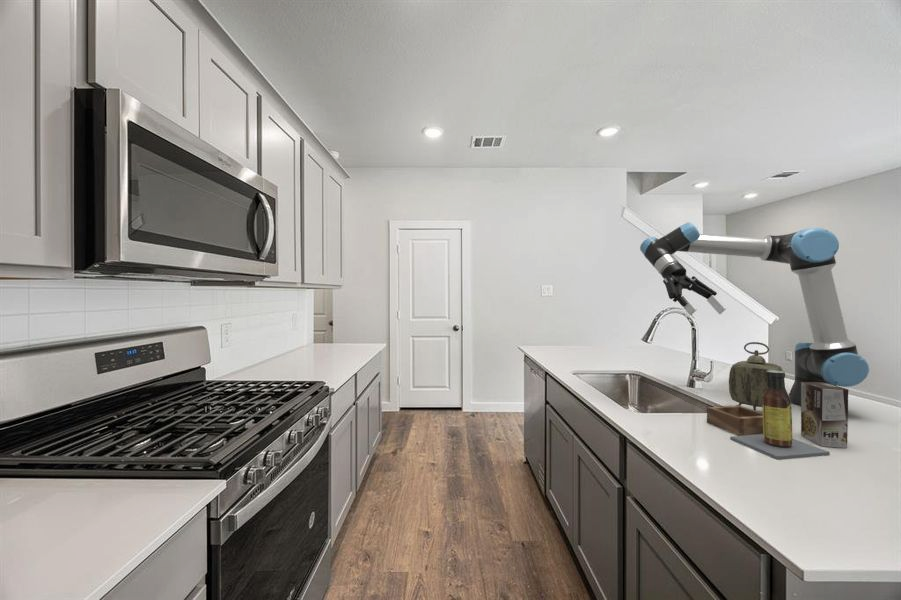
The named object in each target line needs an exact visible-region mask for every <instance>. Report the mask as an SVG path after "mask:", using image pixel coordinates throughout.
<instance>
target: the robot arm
mask: <svg viewBox="0 0 901 600" xmlns="http://www.w3.org/2000/svg"><path fill="white" fill-rule="evenodd" d="M839 246H840V241H839V239H838V237H837V236H836V235H835V234H834V233H833V232H832V231H830V230H827V229H825V228H820V227H812V228H811V227H810V228H805V229H804V228H803V229H802V230H799V231H796V232H791V233H787V234H779V235H771V234H770V235H765V236H764V237H754V236H741V235H725V234H724V235H722V234H709V233H705V234H704V233H700V231H699V230H698V229H697V227H696V226H695V225H694V224H693V223H692V222H688V221H687V222H686V223H684V224H681V225H680V226H678V227H677V228H675V229H674V230H671V231H669V233H668V234H666V235H664V236H662V237H660V238H657V237H656V236H651V237H646V239H644V240H643V241H642V243H640V246H639V249H640V252H641V254H643V257H645V259H646V260H648V261H649V263H650V264H651V265H652V267H654V269H655V270H656V271H657V272H658V273H659V275H660V276H661V277H662V278H663V280H662V283H663V284H664V286H665V289H666V292H667V295H668V298H669V299H670V300H672V301H673V302H674V303H677V302H678V303H679V305H681V307H682V308H683V309H684V310H685V311H686V313H687V314H688V315H689V316H692V315H693V314H694V313H695V312H696V311H697V308H696V307H695V305H693V303H692V302H691V301H690V300H689V299H688V297H686V296H685V295H683V290H688V291H692V292H693V293H696V294H698V295H700V296H701V297H703V298H705V299H706V301H707V303H708V304H709V305H710V306H711V307H712V308H713V310H715V311H716V313H717V314H719V315H721V314H722V313H724V312H725V310H727V308H726V307H725V306H724V304H722V302H720V300H719V299H718V298H717V297H716V296H717V295H718V293H717V291H715V290H714V289H712V288H711V287H709V286H708V285H707V284H704V282H703V281H700V280H699V279H698V278H697V277H696V276H694V275H692V276H691V277H689V276H688V275H687V269H686V268H685V267H684V266H683V265H682V264H681V263H680V261H679V260H678V259H677V258H676V257H675V256H674V255H673V254H675V253H676V252H682V253H683V252H684V253H685V252H686V253H697V254H698V253H700V254H710V255H711V254H712V255H725V256H735V257H737V256H738V257H752V258H759V259H760V260H761V261H766V262H774V263H781V264H789V265H790V270H791V272H792V273H794V274H795V275H797V276H798V280H799V283H800V288H801V293H802V296H803V301H804V304H805V309H806V310H805V311H806V313H807V317H808V323H809V327H810V330H811V334H812V339H813V342H798V343H796V345H795V348H794V382H793V384H792V386H791V389H790V392H789V393H788V396H789V398H790V400H791V404H795V405H798V406H801V382H825V383H829V384H832V385H835V386H839V387H842V388H845V387H846V388H847V387H854V386H857V385H859V384H861V383H862V382H863V381H864V380H866V378H867V377H868V375H869V372H870V366H869V363H868V361H866V359H865V358H864V357H862V355H859V352H858V350H857V349H858V348H857V345H856V343H855V342H853V341H851V340H850V339H848V335H847V331H846V326H845V321H844V318H843V313H842V310H841V305H840V301H839V296H838V292H837V289H836V285H835V279H834V276H833V271H832V269H833V268H834V267H835V266H836V265H837V262H836V256H835V255H836V254H837V253H838V251H839Z"/></svg>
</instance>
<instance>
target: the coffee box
mask: <svg viewBox="0 0 901 600" xmlns="http://www.w3.org/2000/svg"><path fill="white" fill-rule="evenodd" d="M848 421H849V389H848V388H845V387H842V386H835V385H832V384H829V383H825V382H801V405H800V424H801V425H800V436H802V437H804V438H805V439H808V440H809V441H811V442H813V443H815V444H816V445H819V446H821V447H828V448H829V447H830V448H841V449H842V448H844V449H847V448H848V435H849V434H848V431H849V430H848V429H849V427H848V426H849V425H848V423H849V422H848Z"/></svg>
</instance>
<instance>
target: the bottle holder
mask: <svg viewBox="0 0 901 600" xmlns="http://www.w3.org/2000/svg"><path fill="white" fill-rule="evenodd" d="M706 423H707V424H709V425H712V426H713V427H714V426H715V427H717V428H720V429H721V428H722V430H723V431H724V430H725V431H726V430H727V432H729V433H731V432H732V434H734V435H735V436H740V435H743V436H745V435H758V434H763V412H761V411H758V410H756V411H755V410H753V409H752V408H749V407H745V406H743V405H741V406H740V405H739V404H736V405H726V406H725V405H724V406H723V405H722V406H720V405H719V406H708V407H706Z"/></svg>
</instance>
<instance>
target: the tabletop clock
mask: <svg viewBox="0 0 901 600" xmlns="http://www.w3.org/2000/svg"><path fill="white" fill-rule="evenodd" d="M749 345H761V346H764V347H765V348H766V349H767V350H766V351H764V352H759V350H758V349H757V350H754V352H753V351H749V350H748V349H747V347H748V346H749ZM743 349H744V351H745V352H747V353H748V354H751V355H749V357H748V358H747V359H746V360H742V361H741V360H740V361H737V362H735V363H733V364H732V366H731V367H730V370H729V374H728V375H729V376H728V390H729V395H730V397H731V399H732V401H734V402H736V403H738V405H740V406H742V405H747V406H751V407H752V408H753V409H752V410H755V411H757V407H758V408H762V404H763V393H764V392H765V390H766V389H767V376H766V371H768V370H776V371H783V368H782V366H780V365H778V364H776V363H770V362H766V359H765V358H764V357H763V356H761V355H766V354H767V353H769V352H770V348H769V346H768V345H767V344H765V343H763V342H756V341H752V342H748V343H746V344H745V345H744V346H743ZM783 372H784V371H783ZM784 382H785V380H784ZM785 383H786V382H785Z"/></svg>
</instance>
